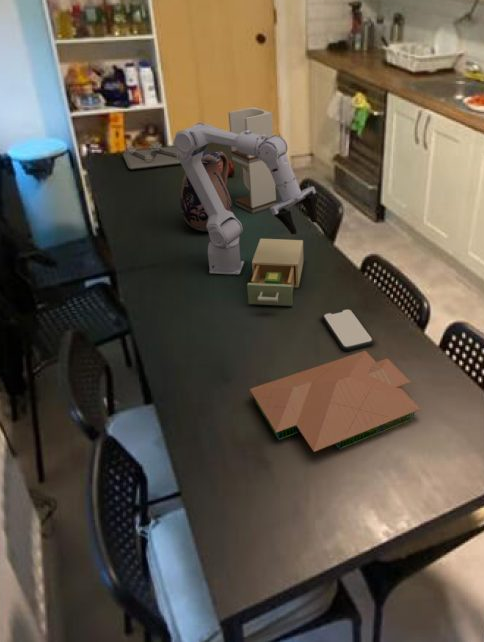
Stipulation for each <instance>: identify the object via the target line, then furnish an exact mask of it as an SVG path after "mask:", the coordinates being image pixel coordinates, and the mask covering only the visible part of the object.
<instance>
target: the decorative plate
mask: <svg viewBox="0 0 484 642" xmlns="http://www.w3.org/2000/svg"><path fill="white" fill-rule="evenodd" d="M149 145H150V146H148V149H139V150H138V148H137V147H135V146H132V145H129V146H128V147H125V149H126V150H124V152H123V153H122V157H123V159H124V161H125V163H126V166H127V168H128V169H129V170H130V171H137V170H146V169H154V168H163V167H170V166H171V167H172V166H182V165H181V162H180V159H179V154H178V152H177V150H176V148H175V146H167V147H163V144H162V143H160V141H152V142H151V141H150V143H149Z"/></svg>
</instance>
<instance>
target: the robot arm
mask: <svg viewBox="0 0 484 642" xmlns="http://www.w3.org/2000/svg"><path fill="white" fill-rule="evenodd" d="M172 143H173V145H174V146H173V147H175V148H176V150H177V152H178V154H179V159H180V162H181V165H180V166H181V167H182V168H183V170H184V173H185V172H186V174H187V176H188V178H189V180H190V182H191V184H192V186H193V188H194V190H195V192H196V194H197V196H198V198H199V199H200V201H201V203H202V205H203V207H204V209H205V211H206V213H207V215H208V217H209V219H208V222H207V226H206V228H207V230H208V238H209V240H210V241H209V243H208V246H207V257H208V266H209V267H208V268H209V270H208V271H209V272H208V273H209V274H211V275H214V274H216V275H234V276H235V275H237V276H238V275H240V274H241V273H242V270H243V267H244V265H245V261H244V260H241V249H240V236H241V235H242V233H243V224H242V223H241V221H240V220H239V219H238V218H237V217H236V215H235V214H234V212H233V211H231V212H230V211H228V210H226V209H225V208H224V206H223V204H222V202H221V200H220V198H219V196H218V194H217V192H216V190H215V188H214V186H213V184H212V182H211V180H210V178H209V176H208V174H207V172H206V170H205V168H204V166H203V164H202V162H201V158H202V155H203V152H205V151H206V150H207V148H208V147H209V146H210V144H211V143H212V144H215V145H216V144H217V145H222V146H228V147H231V146H233V147H236V148H237V150H238V151H239V152H240V153H243V154H247V155H251V156H255V157H259V158H260V159H261V160H262V161H263V162H264V163H265V164H266V165H267V167H268V168H269V170H270V172H271V174H272V177H273V179H274V182H275V188H276V189H277V191H278V194H279V196H280V198H281V200H280V201H279V202H276V205H274V206H272V207H269V210H270V213H271V215H273V216H274V217H275V218H276V219H278V220H279V221H280V222H281V223H282V224H283V225H284V226H285V227H286V229H287V230H288V231H289V233H290V234H291V235H296V234H298V232H297V228H296V226H295V224H294V222H293V217H292V212H291V210H288V208H290V207H292V206H293V205H295V204H297V203H299V202H301V204H302V205H303V207H304V209H305V211H306V213H307V216H308V217H309V220H310V222H311V223H317V222H318V216H317V201H318V196H317V194H316V193H317V190H316V188H315V186H309V187H307V188H304V189H303V190H301V188H300V185H299V182H298V180H297V177H296V175H295V172H294V170H293V168H292V165H291V163H290V161H289V158H288V155H287V152H288V144H287V141H286V140H285V138H283V137H282V136H279V135H277V134H273V136H272V137H270V138H269V137H267V135H258V134H253V133H251V131H250V130H246V131H243V132H241V133H240V134H235V133H232V132H230V130H225V129H222V128H218V127H215V126H213V125H211V124H210V123H204V122H197V123H195V124H194V125H192V126H189V127H187V128H184V129H182V130H179V131H177V132H176V133H175V135H174V139H173V142H172Z"/></svg>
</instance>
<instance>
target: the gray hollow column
mask: <svg viewBox="0 0 484 642" xmlns="http://www.w3.org/2000/svg"><path fill="white" fill-rule="evenodd" d="M273 116H274V113H273V112H271V111H267V110H266V109H265V110H264V109H261V108H258V107H256V106H253V107H248V108H242V109H237V110H232V111H228V125H229V132H232V133H235V134H240V133H241V132H243V131H246V130H250V131H251V133H253V134H258V135H267V137H269V138H270V137H272V136H274V117H273ZM230 150H231V151H230V152H231V161H234V162H236V163H239V164H241V166H242V175H243V176H242V178H243V185H244V187H245V188H246V189H247V190H248V191H249V195H245V196H242V197H239V198H236V199H235V205H236V206H238V207H240V208H242V209H243V210H246V211H247V212H249V213H251V214H254V213H257V212H260V211H262V210H263V211H264V210H266V209H270V208H271V207H273V206H274V205H276V204H277V195H276V194H277V192H276V189H277V188H276V184H275V182H274V179H273V177H272V174H271V172H270V170H269V168H268V167H267V165H266V164H265V163H264V162H263V161H262V160H261V159H260V158H259V157H255V156H251V155H247V154H243V153H240V152H239V151H238V150H237V148H236V147H233V146H230Z"/></svg>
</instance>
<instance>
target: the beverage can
mask: <svg viewBox="0 0 484 642" xmlns="http://www.w3.org/2000/svg"><path fill="white" fill-rule="evenodd" d="M228 162H229V169H228V177H232V176H234V175H235V173H236V171H235V165H234V163H233V160H228ZM218 169H219V172H220V174H221V176H222V171H223V161H222V160H220V161H219V162H218Z"/></svg>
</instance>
